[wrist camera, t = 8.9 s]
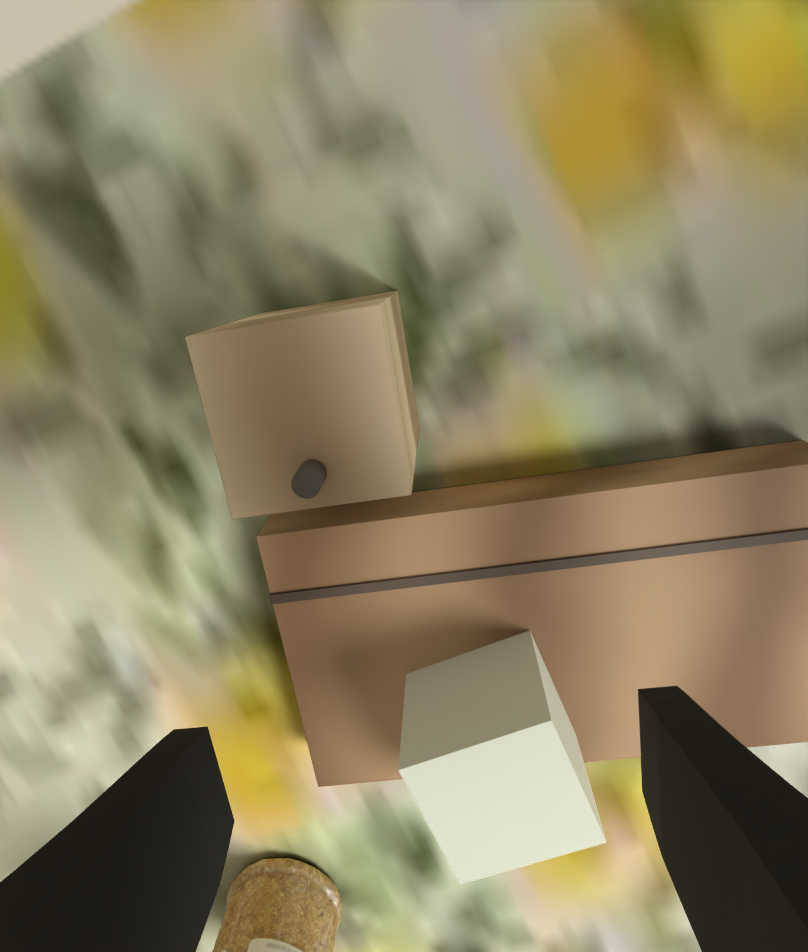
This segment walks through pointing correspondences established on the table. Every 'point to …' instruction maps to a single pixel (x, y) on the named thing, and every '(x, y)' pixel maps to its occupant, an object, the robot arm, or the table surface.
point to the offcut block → (495, 761)
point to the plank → (554, 598)
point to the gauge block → (310, 405)
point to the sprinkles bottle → (280, 909)
